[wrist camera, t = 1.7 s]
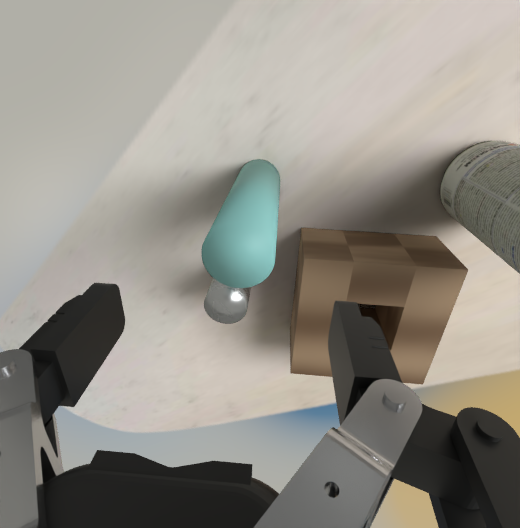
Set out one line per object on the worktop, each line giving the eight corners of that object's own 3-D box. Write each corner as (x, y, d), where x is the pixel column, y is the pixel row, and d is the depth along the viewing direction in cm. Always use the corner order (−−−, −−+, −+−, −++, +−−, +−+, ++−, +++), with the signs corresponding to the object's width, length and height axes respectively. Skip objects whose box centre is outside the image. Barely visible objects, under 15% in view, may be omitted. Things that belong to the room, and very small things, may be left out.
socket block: (301, 227, 30) (304, 258, 25) (436, 236, 30) (468, 269, 24) (290, 330, 36) (290, 373, 31) (402, 339, 35) (422, 384, 30)
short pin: (216, 252, 32) (203, 286, 27) (254, 255, 32) (247, 289, 27) (217, 284, 34) (204, 322, 29) (252, 287, 34) (246, 325, 28)
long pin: (238, 158, 28) (200, 219, 15) (281, 160, 27) (277, 224, 15) (237, 200, 29) (203, 285, 17) (278, 202, 29) (272, 290, 17)
